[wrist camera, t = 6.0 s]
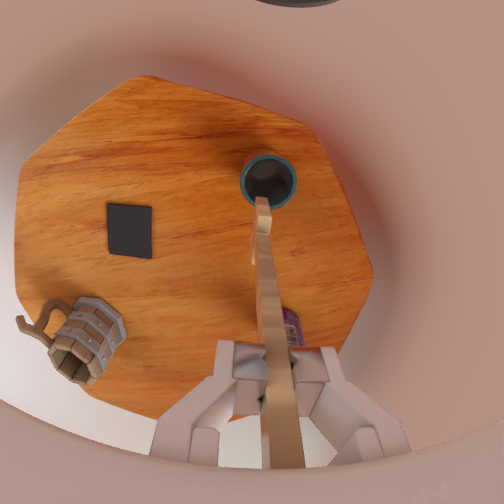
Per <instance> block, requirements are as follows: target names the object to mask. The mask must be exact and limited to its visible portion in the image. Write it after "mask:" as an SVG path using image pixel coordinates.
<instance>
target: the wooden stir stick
mask: <svg viewBox="0 0 504 504" xmlns="http://www.w3.org/2000/svg"><path fill="white" fill-rule="evenodd" d="M271 222H272V215H271V211H270V207H269V203H268V199H267V198H265V197H256V201H255V208H254V216H253V223H252V231H251V264H254V265H255V285H256V311H257V338H258V343H259V344H265V345H266V352H267V353H266V357H265V361H266V362H267V366H268V383H267V387H266V390H265V394H264V395H263V396H262V405H261V409H260V420H261V448H262V469H297V468H306V466H305V459H304V451H303V444H302V437H301V430H300V422H299V416H298V409H297V402H296V395H295V389H294V385H293V379H292V373H291V372H292V369H291V363H290V360H289V353H288V344H287V337H286V331H285V325H284V319H283V313H282V307H281V301H280V295H279V289H278V283H277V277H276V271H275V266H274V260H273V254H272V249H271V243H270V237H269V235H270V229H271Z"/></svg>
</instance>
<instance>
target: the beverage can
mask: <svg viewBox="0 0 504 504" xmlns="http://www.w3.org/2000/svg"><path fill="white" fill-rule="evenodd" d="M282 313H283V319H284V325H285V331H286V337H287V344H288V347H289V346H305V342H304V338H303V333H302V329H301V325H300V320H299V318H298V316H297V315H296V314H295V313H293V312H292V311H289V310H282Z"/></svg>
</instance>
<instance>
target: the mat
mask: <svg viewBox="0 0 504 504" xmlns="http://www.w3.org/2000/svg"><path fill="white" fill-rule="evenodd" d="M151 208H152V207H146V206H134V205H121V204H107V223H108V241H109V253H110V254H116V255H123V256H131V257H139V258H147V259H151V258H152V255H151Z"/></svg>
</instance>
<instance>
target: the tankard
mask: <svg viewBox="0 0 504 504" xmlns="http://www.w3.org/2000/svg"><path fill="white" fill-rule="evenodd" d="M57 308H58V309H59V310H61V311H62V312H63V313H64V314H65V315H66V316H67V317H68V318H66V319H65V321H66V322H65V323H64V325H63V326H61V328H60V329H59V330H58V332H57V333H55V334H54V335H55V336H54V338H53V340H52V339H51V338H50V337H49V336H47V335H46V334H45V333H44V332H43V330H44V329H45V327H46V325H47V324H48V321H49V317H50V313H51V311H52V310H53V309H57ZM16 322H17V325H18V328H19V330H20V332H23V333H25V334H28V335H30V336H32V337H34V338H36V339H38V340H40V341H41V342H42V343H43V344H44V345H45V346H46V347H47V348H49V351H48V355H49V358H50V359H51V362H52V364H53V365H54V367H55V368H57V369H56V370H57V371H58V372H60V373H61V374H62V375H63V376H65V377H66V378H67V379H68V380H70V381H73V383H77V384H81V385H85V386H91V385H92V384H93V383H94V382H95V381H96V380H97V379H98V377H99V376H100V375H101V374H102V373H104V372H105V370H106V368H107V366H108V364H109V363H108V359H109V358H110V357H112V355H113V354H114V352H115V350H116V348H117V346H118V345H119V344H120V343H121V342H122V341H124V340H125V338H126V336H127V335H126V331H125V328H124V324H123V320H122V316H121V315H120V314H119V313H118V312H117V311H115V310H114V309H113V308H112V307H111V306H110V305H108V304H107V303H106V302H105V301H104V300H103V299H101V298H91V297H80V298H79V299H78V300H77V302H76V303H75V305H74V306H73V308H71V307H70V306H69V305H68V304H67V303H66V302H64V301H63V300H62V299H60V298H59V297H57V298H52V299H48V300H47V301H46V302H45V303H44V304H43V306H42V308H41V311H40V315H39V318H38V320H37V321H36V323H35V324H34V326H33V325H30V324H27V323H26V322H25V319H24V316H23V315H20V316H17V317H16Z"/></svg>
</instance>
